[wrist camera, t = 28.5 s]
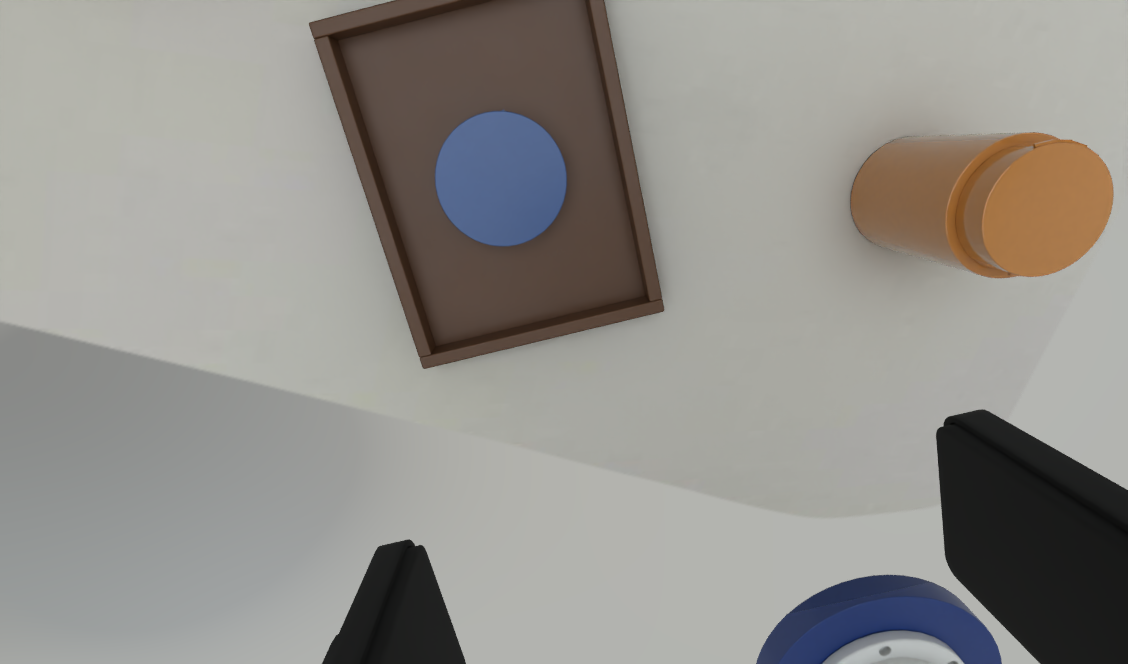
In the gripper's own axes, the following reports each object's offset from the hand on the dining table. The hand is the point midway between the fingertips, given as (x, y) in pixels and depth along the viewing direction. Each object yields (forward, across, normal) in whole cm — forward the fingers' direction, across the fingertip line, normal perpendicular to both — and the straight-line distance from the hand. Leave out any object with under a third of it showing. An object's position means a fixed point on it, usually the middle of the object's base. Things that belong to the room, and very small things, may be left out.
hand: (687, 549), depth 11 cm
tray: (+24, +3, -7) cm, 25 cm away
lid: (+22, +3, -7) cm, 23 cm away
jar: (+24, -18, -1) cm, 30 cm away
